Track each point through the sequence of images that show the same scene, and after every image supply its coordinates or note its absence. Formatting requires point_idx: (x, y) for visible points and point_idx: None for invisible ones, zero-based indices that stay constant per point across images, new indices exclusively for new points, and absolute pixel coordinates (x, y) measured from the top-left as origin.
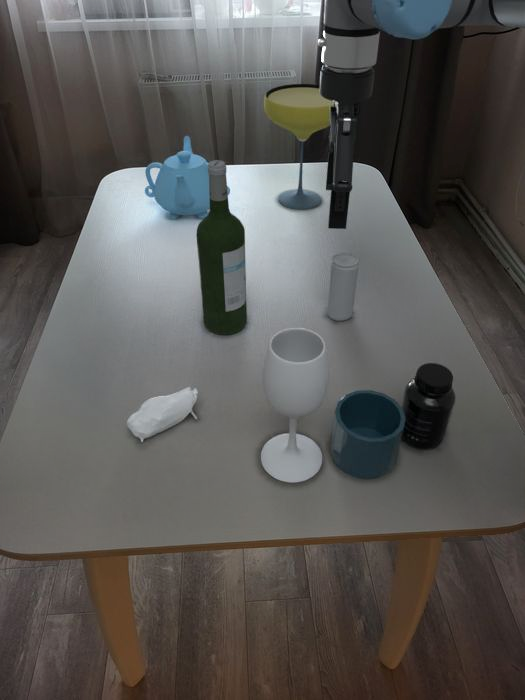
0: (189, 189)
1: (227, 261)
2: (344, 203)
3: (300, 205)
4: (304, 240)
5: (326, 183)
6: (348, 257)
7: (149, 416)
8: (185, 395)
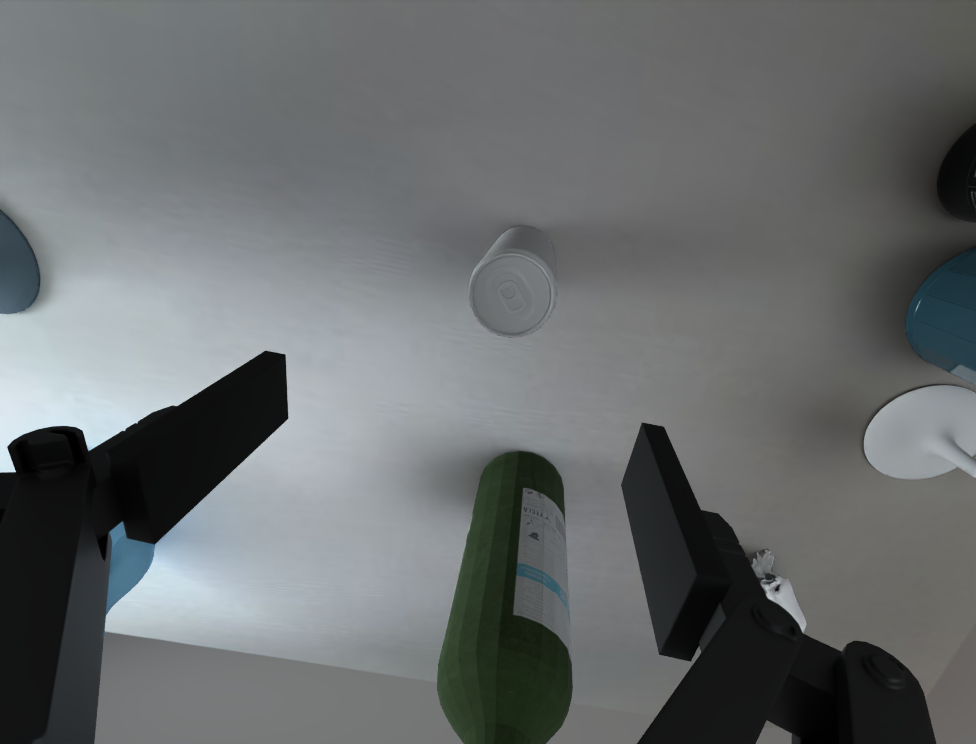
0: None
1: (568, 631)
2: (741, 554)
3: (19, 261)
4: (196, 279)
5: (269, 434)
6: (497, 281)
7: None
8: (783, 602)
